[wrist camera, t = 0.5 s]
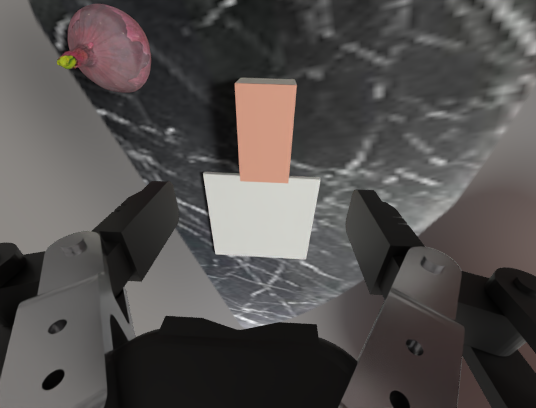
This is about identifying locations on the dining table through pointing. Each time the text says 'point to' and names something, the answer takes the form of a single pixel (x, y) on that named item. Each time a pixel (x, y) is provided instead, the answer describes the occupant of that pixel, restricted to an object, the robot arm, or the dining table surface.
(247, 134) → the card box
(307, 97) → the dining table surface
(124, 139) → the dining table surface
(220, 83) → the dining table surface
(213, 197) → the mat
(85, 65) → the vegetable
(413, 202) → the dining table surface
